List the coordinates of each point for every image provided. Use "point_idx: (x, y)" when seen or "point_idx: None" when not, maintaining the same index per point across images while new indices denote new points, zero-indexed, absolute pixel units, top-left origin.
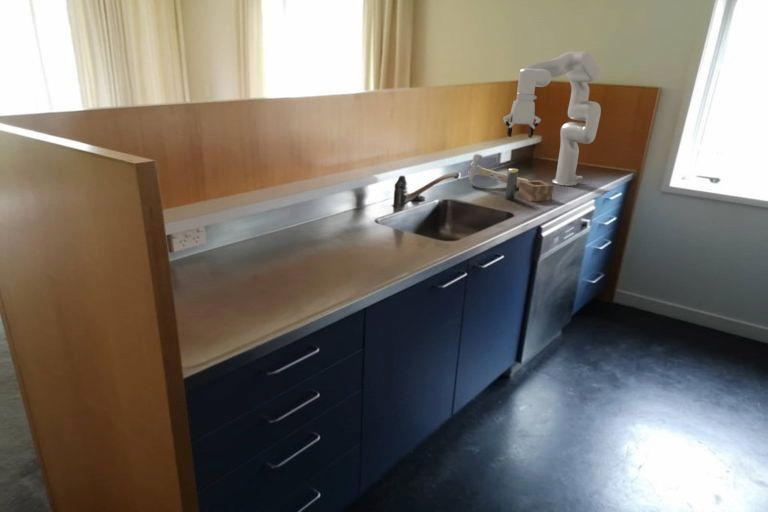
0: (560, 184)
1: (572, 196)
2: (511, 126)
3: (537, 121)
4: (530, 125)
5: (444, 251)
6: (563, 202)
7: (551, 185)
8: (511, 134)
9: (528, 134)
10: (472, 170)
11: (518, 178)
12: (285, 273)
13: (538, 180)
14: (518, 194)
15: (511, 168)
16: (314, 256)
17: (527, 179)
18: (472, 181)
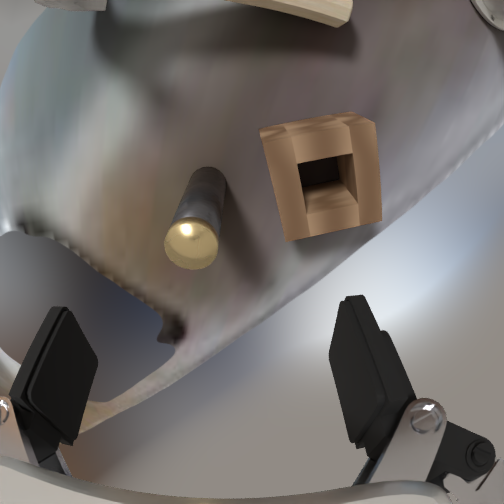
0: (477, 9)
1: (451, 150)
2: (59, 456)
3: (466, 502)
4: (395, 456)
5: (96, 415)
6: (385, 219)
7: (374, 220)
8: (92, 381)
9: (348, 328)
10: (54, 2)
11: (302, 2)
12: None
13: (363, 128)
14: (259, 129)
15: (184, 227)
16: (10, 397)
17: (350, 6)
18: (84, 9)
